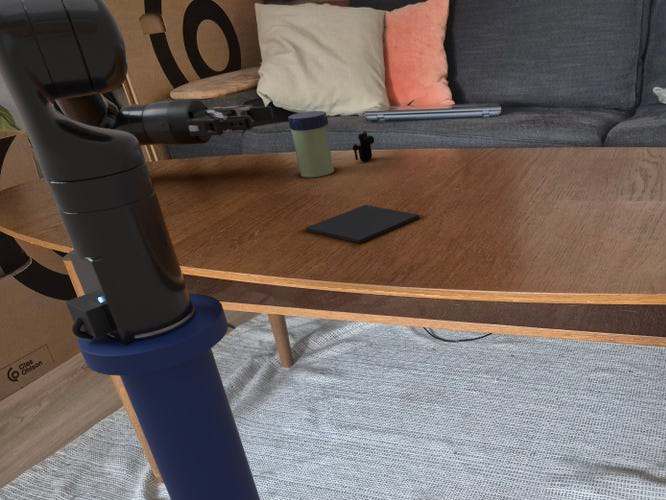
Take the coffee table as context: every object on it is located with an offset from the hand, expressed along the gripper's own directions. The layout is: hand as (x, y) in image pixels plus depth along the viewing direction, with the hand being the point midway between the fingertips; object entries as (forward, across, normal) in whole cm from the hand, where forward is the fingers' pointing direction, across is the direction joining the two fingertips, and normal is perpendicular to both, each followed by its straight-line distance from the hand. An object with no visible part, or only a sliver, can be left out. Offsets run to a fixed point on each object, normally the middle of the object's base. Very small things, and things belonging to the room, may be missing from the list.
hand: (262, 117), depth 117 cm
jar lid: (+8, 0, 0) cm, 8 cm away
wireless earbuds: (+15, -8, -10) cm, 20 cm away
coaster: (+26, +30, -10) cm, 41 cm away
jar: (+8, 0, -10) cm, 13 cm away
